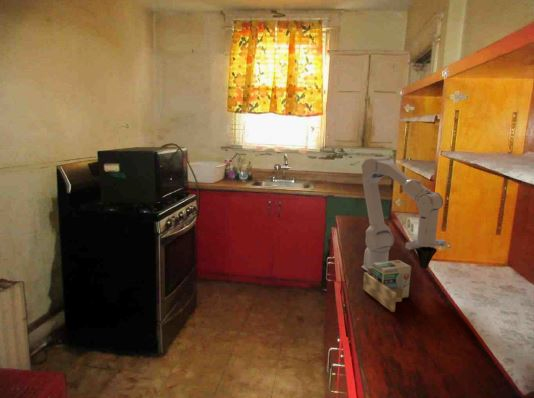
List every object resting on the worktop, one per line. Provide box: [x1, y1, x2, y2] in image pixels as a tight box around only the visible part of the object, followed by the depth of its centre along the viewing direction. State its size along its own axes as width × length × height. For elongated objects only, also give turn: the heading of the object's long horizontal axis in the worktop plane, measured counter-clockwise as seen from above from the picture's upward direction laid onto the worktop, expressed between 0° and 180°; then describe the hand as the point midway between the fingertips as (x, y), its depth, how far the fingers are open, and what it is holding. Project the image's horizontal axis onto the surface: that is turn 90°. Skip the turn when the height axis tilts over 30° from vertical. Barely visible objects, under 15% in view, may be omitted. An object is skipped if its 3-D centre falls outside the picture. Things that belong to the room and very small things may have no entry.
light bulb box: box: [372, 259, 412, 299], centre depth 125 cm, size 11×7×11 cm, turn 108°
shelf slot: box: [362, 267, 403, 313], centre depth 122 cm, size 17×7×8 cm, turn 16°
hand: (423, 267), depth 128 cm, fingers closed
